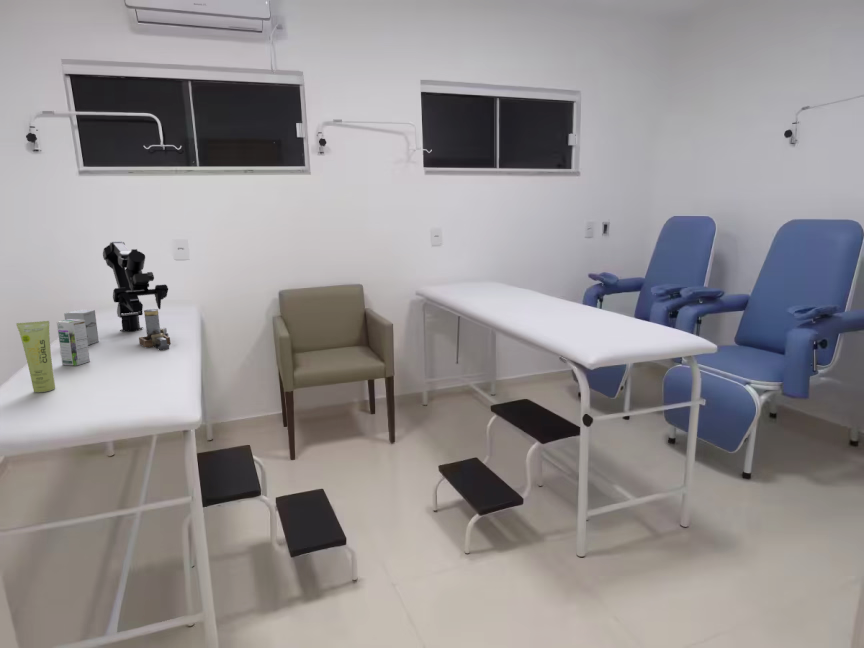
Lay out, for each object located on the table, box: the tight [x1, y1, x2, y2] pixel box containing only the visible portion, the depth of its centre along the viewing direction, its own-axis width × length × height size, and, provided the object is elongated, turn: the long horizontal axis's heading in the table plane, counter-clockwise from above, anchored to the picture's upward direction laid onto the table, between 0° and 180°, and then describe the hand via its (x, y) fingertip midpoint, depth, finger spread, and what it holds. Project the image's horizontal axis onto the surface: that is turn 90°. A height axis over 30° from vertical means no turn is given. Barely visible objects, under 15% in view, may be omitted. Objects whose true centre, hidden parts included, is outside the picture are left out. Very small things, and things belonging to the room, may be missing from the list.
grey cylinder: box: [143, 308, 161, 340], centre depth 202 cm, size 5×5×13 cm
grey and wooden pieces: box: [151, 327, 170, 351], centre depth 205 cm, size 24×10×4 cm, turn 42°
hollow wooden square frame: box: [138, 334, 171, 348], centre depth 203 cm, size 9×9×2 cm
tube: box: [15, 320, 56, 393], centre depth 148 cm, size 6×5×20 cm
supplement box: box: [63, 309, 100, 346], centre depth 203 cm, size 7×7×13 cm
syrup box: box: [56, 319, 91, 367], centre depth 176 cm, size 6×6×14 cm
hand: (146, 310), depth 206 cm, fingers open, 9 cm apart
